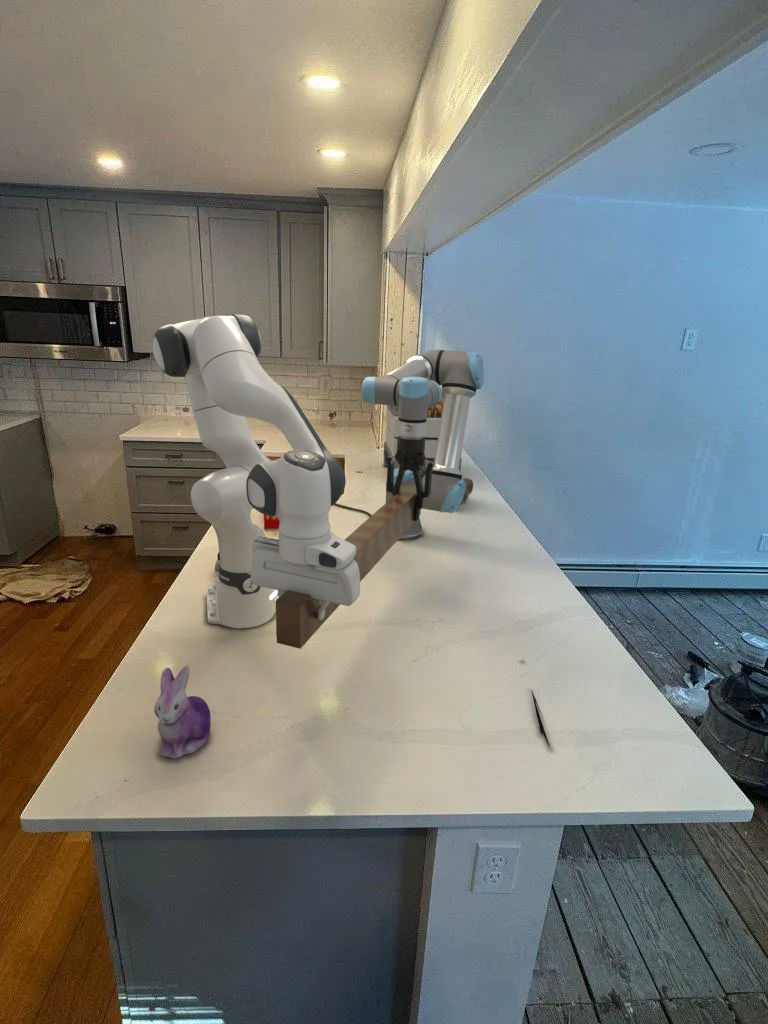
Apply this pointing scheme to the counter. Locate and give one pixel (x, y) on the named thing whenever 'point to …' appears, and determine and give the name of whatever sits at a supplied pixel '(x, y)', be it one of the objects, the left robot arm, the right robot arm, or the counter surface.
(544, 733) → the feather
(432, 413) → the transformer
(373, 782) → the counter surface
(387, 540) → the bar
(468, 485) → the fossil
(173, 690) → the figurine
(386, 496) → the right robot arm
